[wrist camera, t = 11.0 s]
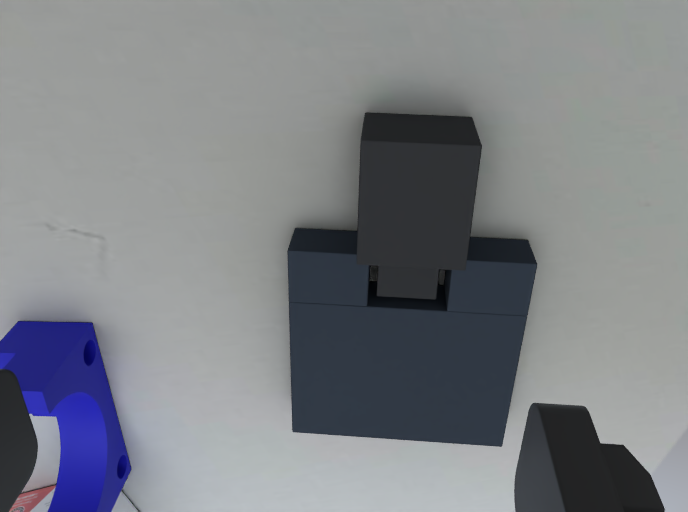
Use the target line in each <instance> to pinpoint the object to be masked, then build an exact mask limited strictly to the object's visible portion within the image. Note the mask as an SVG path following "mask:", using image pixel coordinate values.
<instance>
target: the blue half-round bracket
mask: <svg viewBox="0 0 688 512" xmlns="http://www.w3.org/2000/svg"><path fill="white" fill-rule="evenodd" d="M0 369H7V370H10V371H12V372H13V373H14V374H15V375H16V377H17V379H18V382H19V385H20V388H21V391H22V394H23V397H24V400H25V403H26V406H27V410H28V413H29V414H32V415H33V416H56V417H57V421H58V425H59V431H60V440H61V456H60V466H59V473H58V479H57V483H56V488H55V491H54V495H53V498H52V501H51V504H50V507H49V509H48V512H111V511H112V509H113V507H114V505H115V503H116V501H117V498H118V496H119V494H120V492H121V490H122V488H123V486H124V484H125V482H126V479H127V477H128V475H129V473H130V471H131V466H130V462H129V458H128V455H127V451H126V447H125V443H124V440H123V436H122V432H121V428H120V425H119V421H118V417H117V414H116V410H115V406H114V402H113V399H112V395H111V391H110V387H109V384H108V380H107V376H106V373H105V369H104V365H103V361H102V358H101V354H100V350H99V346H98V343H97V339H96V335H95V332H94V328H93V324H92V323H80V322H32V321H18V322H17V323H16V325H15V326H14V327H13V328H12V329H11V330H10V331H9V332H8V333H7V335H6V336H5V337H4V338H3V339H2V340H1V341H0Z"/></svg>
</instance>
